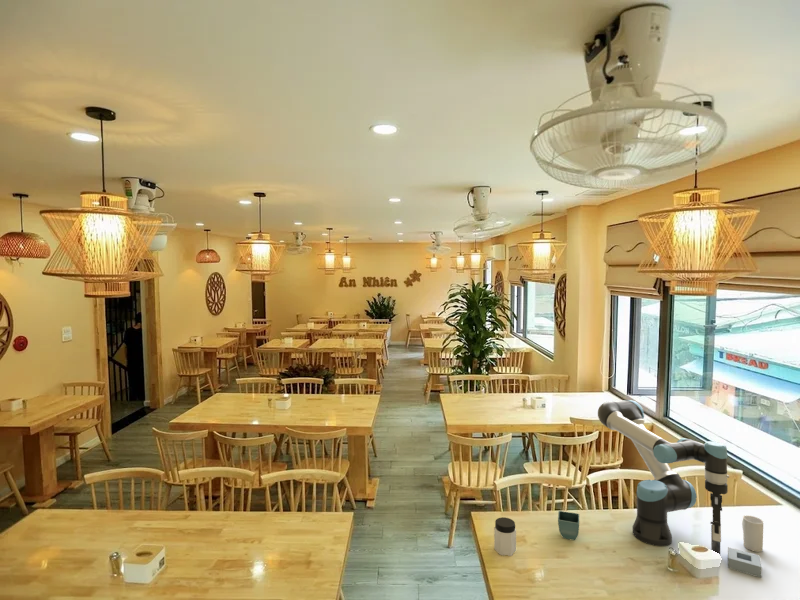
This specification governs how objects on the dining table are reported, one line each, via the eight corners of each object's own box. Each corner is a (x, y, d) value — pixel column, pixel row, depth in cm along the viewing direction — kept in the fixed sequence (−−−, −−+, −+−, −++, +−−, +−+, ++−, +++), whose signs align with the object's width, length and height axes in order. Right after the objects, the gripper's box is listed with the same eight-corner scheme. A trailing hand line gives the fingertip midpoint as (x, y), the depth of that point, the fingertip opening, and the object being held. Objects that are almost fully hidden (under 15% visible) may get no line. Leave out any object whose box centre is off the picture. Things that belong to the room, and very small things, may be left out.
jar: (519, 554, 182) (519, 525, 182) (503, 558, 179) (502, 529, 179) (507, 542, 191) (507, 515, 190) (491, 546, 188) (491, 518, 188)
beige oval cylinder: (767, 553, 182) (767, 524, 182) (749, 551, 183) (749, 523, 182) (751, 539, 192) (751, 512, 191) (734, 538, 193) (734, 511, 192)
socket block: (728, 568, 172) (728, 558, 172) (727, 556, 179) (727, 547, 179) (761, 577, 166) (761, 567, 166) (759, 565, 173) (759, 555, 173)
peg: (711, 555, 180) (711, 526, 180) (711, 552, 182) (711, 523, 182) (720, 558, 178) (720, 529, 178) (720, 554, 181) (720, 525, 180)
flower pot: (557, 539, 193) (557, 519, 192) (558, 529, 201) (558, 510, 201) (579, 544, 189) (579, 523, 189) (579, 533, 197) (579, 513, 197)
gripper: (728, 494, 168) (728, 550, 168) (726, 473, 188) (727, 523, 188) (704, 489, 172) (704, 544, 172) (705, 469, 192) (706, 518, 192)
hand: (716, 533), depth 180 cm, fingers open, 13 cm apart
